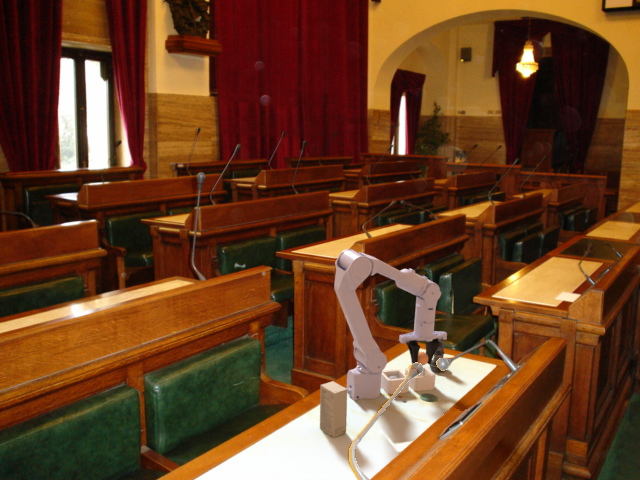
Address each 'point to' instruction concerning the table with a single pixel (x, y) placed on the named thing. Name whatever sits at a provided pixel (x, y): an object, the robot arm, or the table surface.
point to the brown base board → (424, 398)
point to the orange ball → (422, 358)
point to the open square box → (393, 381)
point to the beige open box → (422, 380)
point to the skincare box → (333, 408)
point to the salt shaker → (437, 357)
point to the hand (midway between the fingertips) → (421, 363)
